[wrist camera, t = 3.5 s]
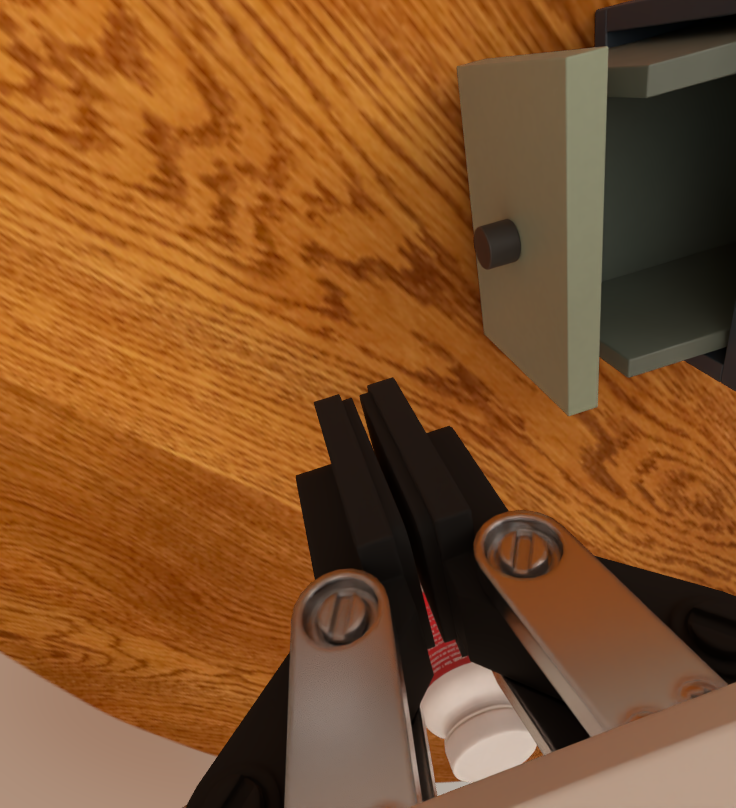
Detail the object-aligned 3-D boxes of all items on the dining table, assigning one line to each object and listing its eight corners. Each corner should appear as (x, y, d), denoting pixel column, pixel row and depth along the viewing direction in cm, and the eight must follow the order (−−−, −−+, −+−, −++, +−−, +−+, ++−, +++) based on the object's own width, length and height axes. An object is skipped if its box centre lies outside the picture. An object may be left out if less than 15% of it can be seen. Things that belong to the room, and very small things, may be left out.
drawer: (460, 341, 26) (538, 426, 20) (425, 74, 20) (521, 69, 13) (731, 258, 27) (890, 313, 21) (778, -19, 21) (1026, -66, 14)
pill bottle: (379, 622, 37) (429, 800, 28) (390, 559, 34) (450, 735, 25) (461, 612, 39) (534, 778, 29) (478, 551, 36) (566, 713, 26)
